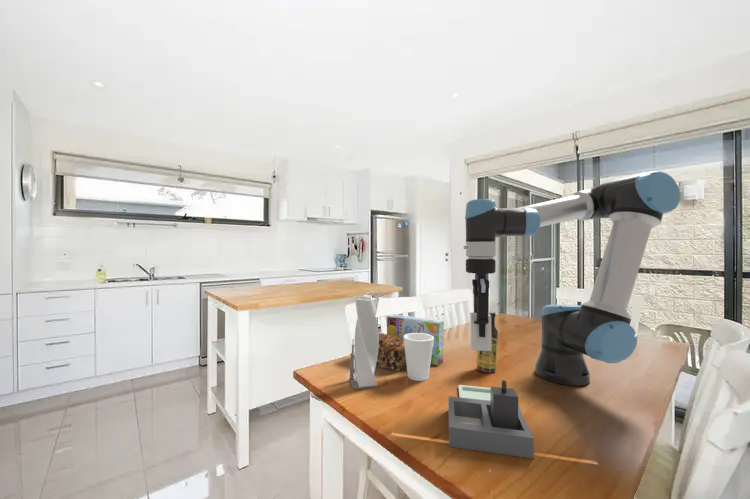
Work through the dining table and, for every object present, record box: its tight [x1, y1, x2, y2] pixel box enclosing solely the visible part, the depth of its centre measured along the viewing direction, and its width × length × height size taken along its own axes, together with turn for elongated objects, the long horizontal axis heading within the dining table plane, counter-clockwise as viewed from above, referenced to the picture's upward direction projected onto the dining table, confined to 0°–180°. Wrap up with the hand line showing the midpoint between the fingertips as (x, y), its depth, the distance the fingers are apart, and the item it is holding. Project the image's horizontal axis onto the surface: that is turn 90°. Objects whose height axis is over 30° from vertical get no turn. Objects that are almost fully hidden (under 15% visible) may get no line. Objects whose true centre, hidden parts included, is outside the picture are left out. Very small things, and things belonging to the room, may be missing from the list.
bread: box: [376, 333, 407, 372], centre depth 112 cm, size 19×11×10 cm, turn 54°
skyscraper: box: [348, 289, 382, 390], centre depth 94 cm, size 8×8×28 cm
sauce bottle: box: [476, 310, 499, 374], centre depth 106 cm, size 7×6×20 cm
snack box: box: [386, 314, 445, 366], centre depth 117 cm, size 21×6×15 cm, turn 58°
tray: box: [457, 384, 491, 401], centre depth 84 cm, size 10×13×1 cm
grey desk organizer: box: [447, 379, 535, 459], centre depth 70 cm, size 16×14×12 cm
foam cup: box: [403, 333, 434, 382], centre depth 99 cm, size 10×9×13 cm
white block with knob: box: [469, 312, 491, 351], centre depth 84 cm, size 5×4×12 cm
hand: (480, 345), depth 84 cm, fingers closed on white block with knob, 4 cm apart
